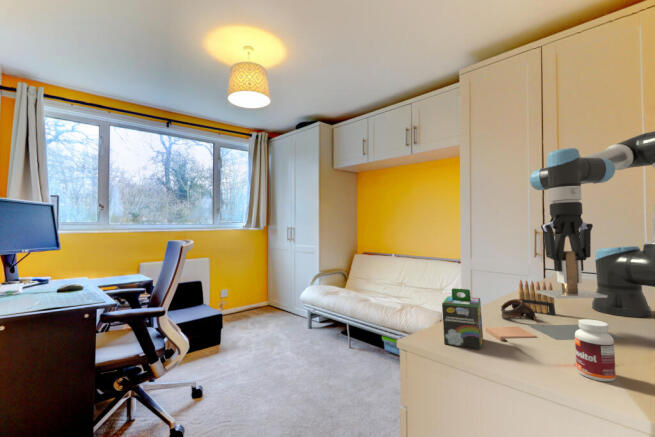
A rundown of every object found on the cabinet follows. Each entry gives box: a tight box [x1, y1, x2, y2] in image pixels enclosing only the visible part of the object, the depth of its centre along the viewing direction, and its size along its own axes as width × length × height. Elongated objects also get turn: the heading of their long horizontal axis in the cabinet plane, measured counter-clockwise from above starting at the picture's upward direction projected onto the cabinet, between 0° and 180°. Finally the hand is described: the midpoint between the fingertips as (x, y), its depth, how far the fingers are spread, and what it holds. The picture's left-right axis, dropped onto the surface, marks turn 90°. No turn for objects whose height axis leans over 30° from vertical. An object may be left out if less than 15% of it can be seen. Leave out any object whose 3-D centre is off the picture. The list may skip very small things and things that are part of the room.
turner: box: [535, 250, 607, 299], centre depth 87 cm, size 14×8×13 cm, turn 89°
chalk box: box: [441, 288, 484, 351], centre depth 84 cm, size 9×9×15 cm
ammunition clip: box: [518, 279, 556, 317], centre depth 107 cm, size 11×2×12 cm, turn 44°
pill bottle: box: [574, 318, 617, 383], centre depth 63 cm, size 6×6×11 cm
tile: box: [484, 326, 537, 342], centre depth 87 cm, size 2×8×10 cm
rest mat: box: [528, 324, 626, 341], centre depth 87 cm, size 18×12×1 cm, turn 89°
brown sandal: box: [500, 298, 538, 323], centre depth 101 cm, size 12×10×8 cm
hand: (569, 282), depth 87 cm, fingers closed on turner, 4 cm apart
